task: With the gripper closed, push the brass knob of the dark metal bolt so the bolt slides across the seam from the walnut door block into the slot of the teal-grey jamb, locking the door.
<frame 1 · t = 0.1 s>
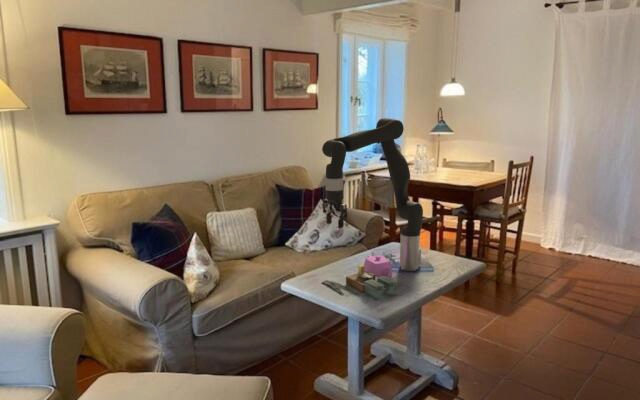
hand: (334, 225, 209), 29 cm above the table, tool pointing down, fingers open, 8 cm apart
driftwood: (338, 290, 216), on the table
teapot: (378, 277, 229), on the table
door and jamb: (370, 289, 214), on the table
bolt: (365, 272, 215), point 7 cm above the table, slide at 0.0 cm
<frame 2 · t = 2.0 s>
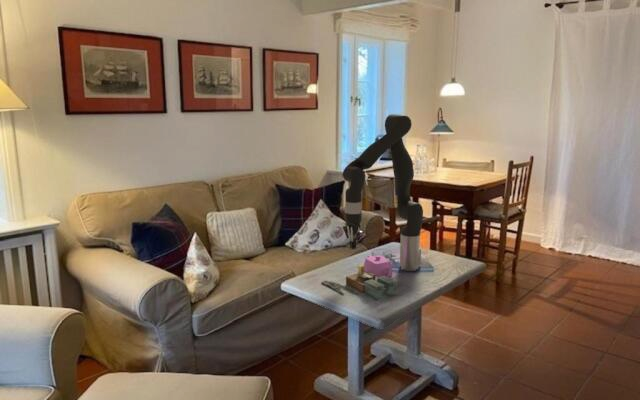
hand: (352, 248, 221), 16 cm above the table, tool pointing down, fingers closed
nothing on the table moved.
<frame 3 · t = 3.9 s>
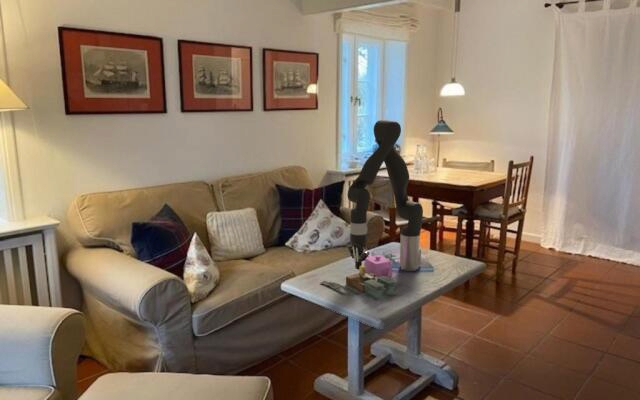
hand: (358, 268, 219), 7 cm above the table, tool pointing down, fingers closed
bolt: (366, 273, 215), point 7 cm above the table, slide at 0.8 cm, touching gripper
everything else where it was.
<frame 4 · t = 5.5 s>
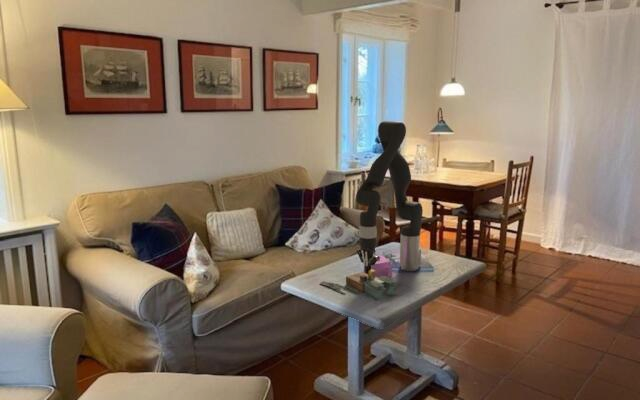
hand: (367, 273, 214), 7 cm above the table, tool pointing down, fingers closed
bolt: (376, 277, 209), point 7 cm above the table, slide at 7.4 cm, touching gripper
everything else where it was.
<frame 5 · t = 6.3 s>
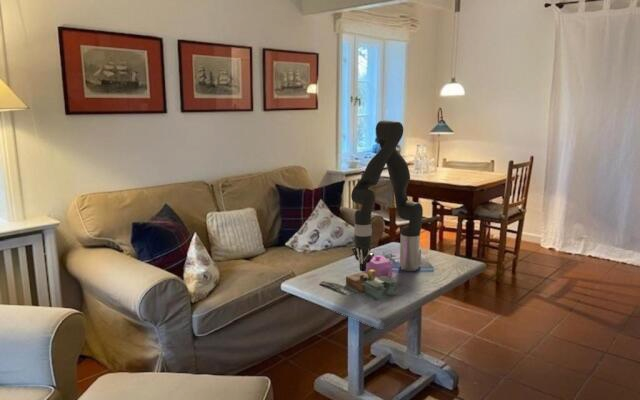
hand: (362, 270, 217), 7 cm above the table, tool pointing down, fingers closed
bolt: (376, 277, 209), point 7 cm above the table, slide at 7.4 cm
everything else where it was.
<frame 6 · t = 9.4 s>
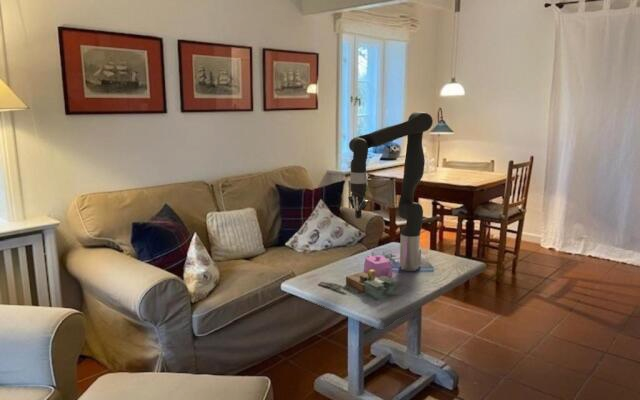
hand: (358, 217, 229), 27 cm above the table, tool pointing down, fingers closed
at the end: bolt slide at 7.4 cm; teapot moved 0.3 cm from its start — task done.
